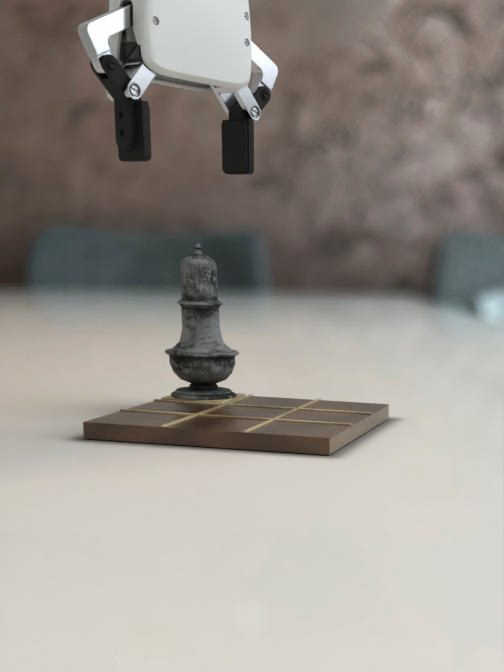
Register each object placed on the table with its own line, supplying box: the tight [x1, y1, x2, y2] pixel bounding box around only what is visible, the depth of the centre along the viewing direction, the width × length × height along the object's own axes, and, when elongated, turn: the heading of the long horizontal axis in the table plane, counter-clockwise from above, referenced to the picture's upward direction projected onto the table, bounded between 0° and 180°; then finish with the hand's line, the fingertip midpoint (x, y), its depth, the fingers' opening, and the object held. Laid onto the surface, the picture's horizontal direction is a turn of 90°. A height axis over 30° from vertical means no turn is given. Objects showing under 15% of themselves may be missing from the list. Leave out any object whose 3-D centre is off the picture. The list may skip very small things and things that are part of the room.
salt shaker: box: [164, 241, 240, 400], centre depth 89 cm, size 6×6×12 cm
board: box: [82, 392, 390, 456], centre depth 85 cm, size 18×18×1 cm
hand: (188, 167), depth 85 cm, fingers open, 9 cm apart
